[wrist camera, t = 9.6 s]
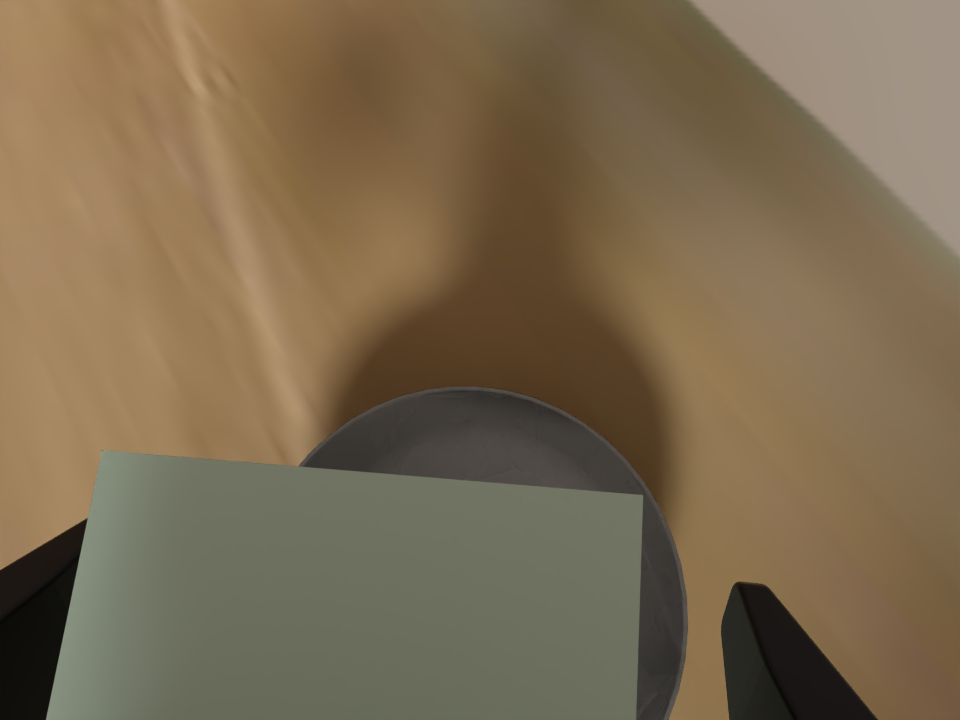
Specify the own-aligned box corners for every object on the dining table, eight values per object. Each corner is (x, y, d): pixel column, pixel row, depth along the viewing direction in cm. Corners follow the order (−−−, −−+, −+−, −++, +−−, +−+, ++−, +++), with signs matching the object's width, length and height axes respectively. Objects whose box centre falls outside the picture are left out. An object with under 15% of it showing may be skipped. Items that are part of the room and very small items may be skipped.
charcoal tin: (677, 788, 20) (713, 854, 16) (290, 797, 20) (234, 862, 16) (639, 400, 22) (662, 374, 18) (297, 418, 23) (250, 397, 19)
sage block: (553, 726, 17) (619, 1205, 5) (349, 703, 17) (-33, 1096, 5) (565, 513, 18) (642, 495, 6) (374, 497, 18) (101, 450, 6)
